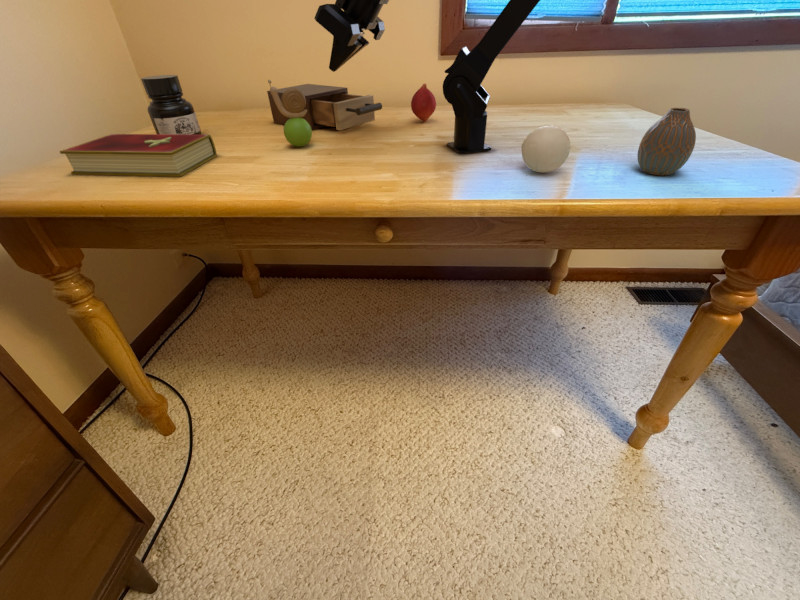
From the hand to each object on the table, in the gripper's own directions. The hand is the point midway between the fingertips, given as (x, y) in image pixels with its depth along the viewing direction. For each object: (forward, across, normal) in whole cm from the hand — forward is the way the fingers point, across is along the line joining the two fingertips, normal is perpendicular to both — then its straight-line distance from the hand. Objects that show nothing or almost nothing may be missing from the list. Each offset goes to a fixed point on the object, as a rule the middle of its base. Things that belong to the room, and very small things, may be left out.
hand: (331, 69), depth 70 cm
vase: (-23, +9, +53) cm, 58 cm away
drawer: (+12, -14, +4) cm, 19 cm away
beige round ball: (-12, +11, +39) cm, 42 cm away
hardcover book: (+29, +18, -17) cm, 38 cm away
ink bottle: (+33, +1, -23) cm, 40 cm away
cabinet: (+19, -19, -4) cm, 27 cm away
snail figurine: (+15, +3, +2) cm, 16 cm away
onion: (+3, -21, +18) cm, 28 cm away
